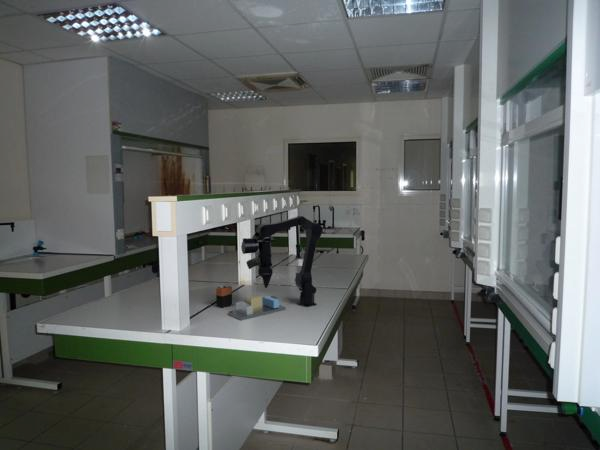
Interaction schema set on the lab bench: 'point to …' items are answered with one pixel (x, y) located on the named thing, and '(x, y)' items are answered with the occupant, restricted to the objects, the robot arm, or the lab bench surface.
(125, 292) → the lab bench surface
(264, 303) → the block
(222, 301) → the battery
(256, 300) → the brass block
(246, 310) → the vise
